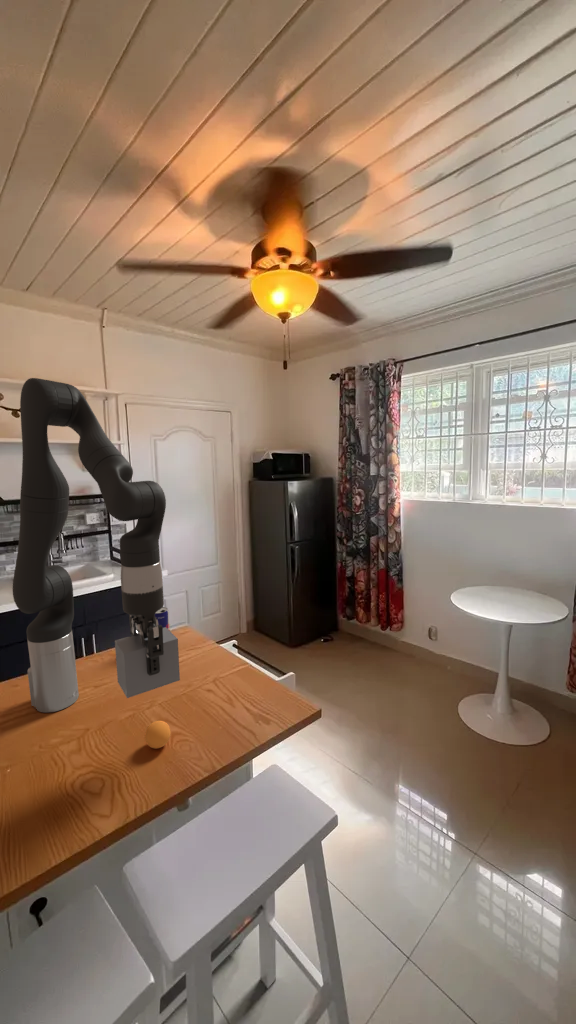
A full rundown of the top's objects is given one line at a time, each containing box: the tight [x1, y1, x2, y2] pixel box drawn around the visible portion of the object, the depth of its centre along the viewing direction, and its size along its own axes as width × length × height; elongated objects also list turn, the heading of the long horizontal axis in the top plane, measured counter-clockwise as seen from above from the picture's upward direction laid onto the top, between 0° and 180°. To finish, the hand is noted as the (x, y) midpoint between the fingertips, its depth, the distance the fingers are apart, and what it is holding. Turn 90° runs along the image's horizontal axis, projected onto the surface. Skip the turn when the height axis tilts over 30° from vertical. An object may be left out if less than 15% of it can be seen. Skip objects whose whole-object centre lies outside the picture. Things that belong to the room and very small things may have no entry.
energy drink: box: [155, 606, 171, 632], centre depth 127 cm, size 5×5×12 cm
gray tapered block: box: [114, 627, 181, 699], centre depth 82 cm, size 10×7×9 cm, turn 126°
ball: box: [144, 720, 171, 749], centre depth 84 cm, size 5×5×5 cm
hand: (147, 665), depth 82 cm, fingers closed on gray tapered block, 7 cm apart
